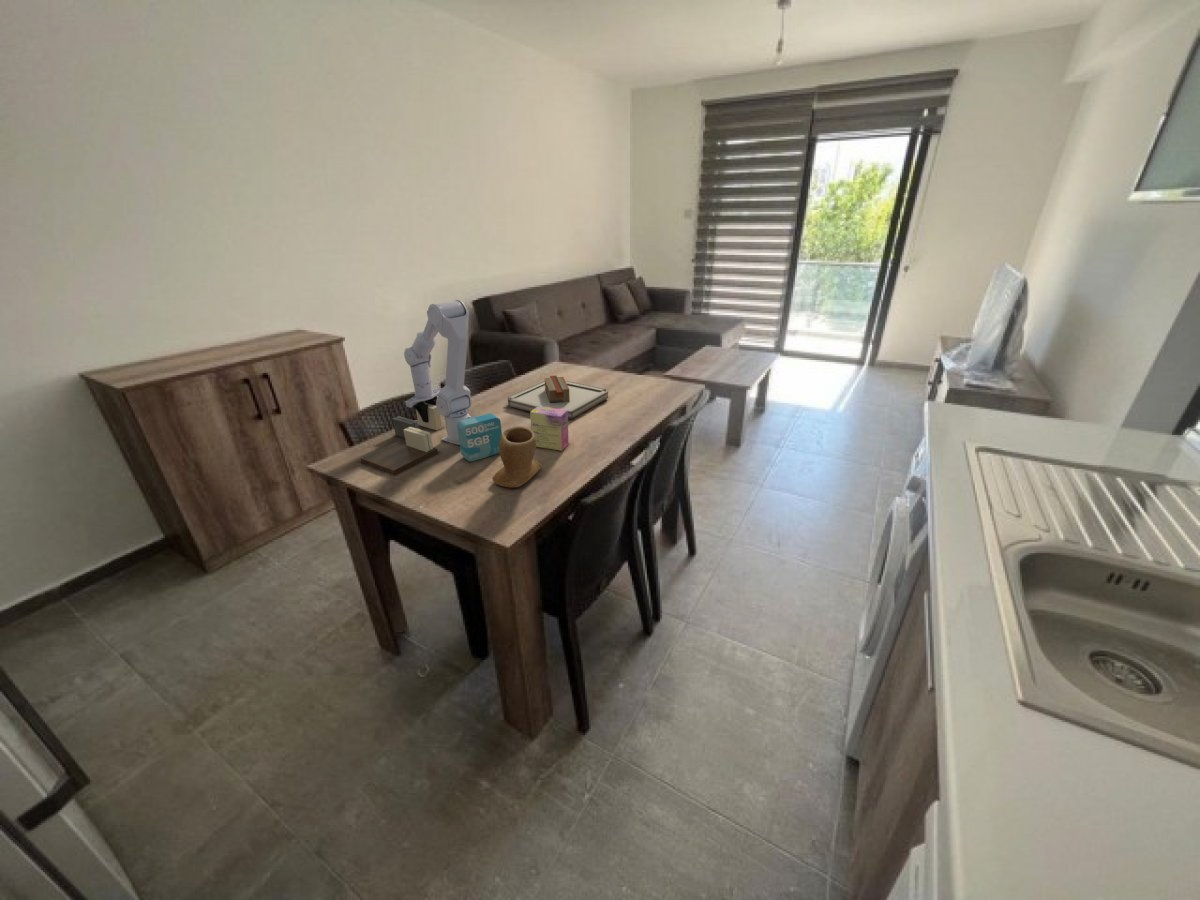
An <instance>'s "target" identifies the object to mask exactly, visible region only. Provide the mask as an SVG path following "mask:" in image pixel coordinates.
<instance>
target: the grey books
mask: <svg viewBox="0 0 1200 900" xmlns="http://www.w3.org/2000/svg"><path fill="white" fill-rule="evenodd" d="M391 421H392V425H393V429H394V433H395V436H397V437H400V438H402V439H404V438H405V435H404V431H403V430H404V429H406V428H408V427H413V428H417V429H420V428H419V424H418V420H414V419H410V418H408V417H403V416H400V415H398V416H396V417H393V418H392V419H391Z"/></svg>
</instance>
